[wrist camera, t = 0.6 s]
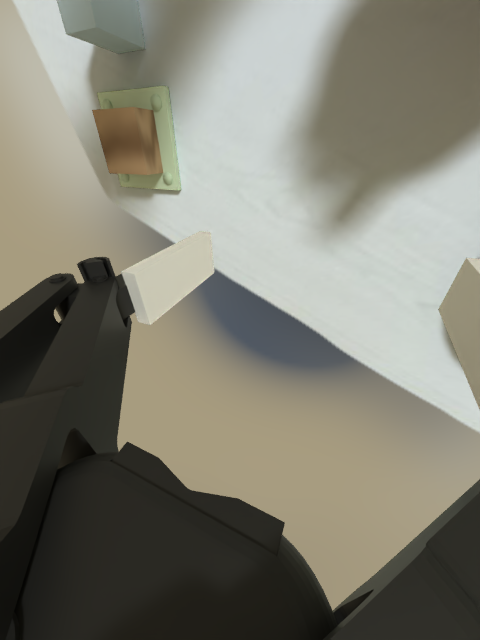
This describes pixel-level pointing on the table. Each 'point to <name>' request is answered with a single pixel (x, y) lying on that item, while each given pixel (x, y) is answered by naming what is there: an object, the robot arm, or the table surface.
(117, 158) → the base brick
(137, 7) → the column brick
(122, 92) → the plate
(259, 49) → the table surface
